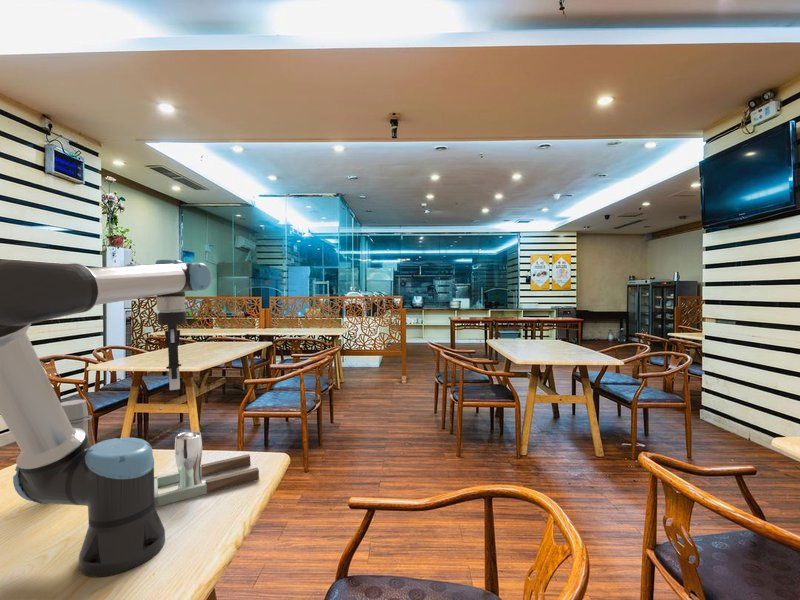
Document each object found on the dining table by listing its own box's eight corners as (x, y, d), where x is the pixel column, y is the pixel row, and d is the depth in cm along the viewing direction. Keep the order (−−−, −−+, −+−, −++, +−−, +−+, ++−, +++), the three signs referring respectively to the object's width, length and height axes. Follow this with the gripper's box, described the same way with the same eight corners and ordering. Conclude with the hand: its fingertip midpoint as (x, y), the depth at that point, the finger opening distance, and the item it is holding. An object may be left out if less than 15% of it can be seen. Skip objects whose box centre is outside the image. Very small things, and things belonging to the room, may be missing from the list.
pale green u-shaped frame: (206, 493, 110) (206, 484, 110) (151, 507, 103) (151, 498, 103) (201, 474, 122) (201, 466, 122) (151, 486, 115) (151, 477, 115)
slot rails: (259, 479, 117) (258, 469, 117) (206, 493, 110) (206, 482, 110) (249, 463, 129) (248, 454, 129) (201, 474, 122) (201, 464, 122)
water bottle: (62, 497, 109) (58, 407, 109) (54, 489, 114) (51, 403, 114) (102, 484, 117) (99, 400, 116) (93, 477, 121) (90, 396, 121)
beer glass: (208, 480, 117) (206, 430, 117) (195, 492, 110) (194, 439, 110) (184, 481, 117) (182, 431, 117) (171, 493, 110) (169, 440, 110)
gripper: (186, 311, 115) (189, 391, 116) (185, 310, 127) (188, 383, 127) (156, 312, 112) (159, 395, 112) (158, 311, 123) (161, 386, 124)
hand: (174, 389), depth 120 cm, fingers closed
